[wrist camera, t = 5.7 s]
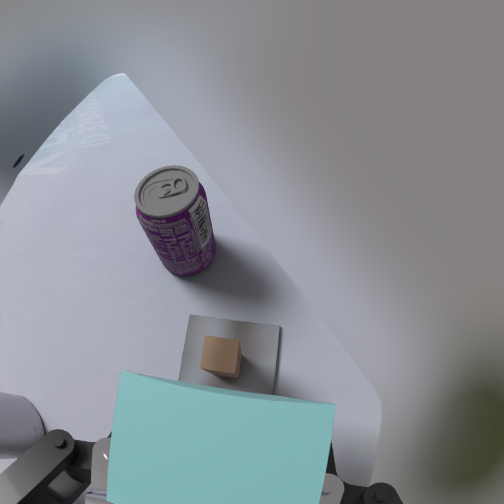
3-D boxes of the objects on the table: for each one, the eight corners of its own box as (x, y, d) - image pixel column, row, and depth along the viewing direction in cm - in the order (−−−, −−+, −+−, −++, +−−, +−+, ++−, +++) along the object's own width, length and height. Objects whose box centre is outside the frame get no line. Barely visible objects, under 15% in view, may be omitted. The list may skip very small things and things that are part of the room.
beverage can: (205, 221, 36) (191, 153, 26) (224, 265, 33) (214, 202, 23) (156, 240, 35) (125, 177, 24) (170, 286, 32) (136, 232, 21)
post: (176, 401, 25) (145, 403, 17) (190, 315, 30) (169, 284, 22) (269, 414, 25) (280, 426, 16) (279, 326, 30) (292, 299, 21)
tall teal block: (182, 458, 12) (106, 529, 3) (194, 383, 15) (121, 370, 6) (268, 471, 12) (301, 564, 3) (279, 395, 15) (335, 403, 5)
